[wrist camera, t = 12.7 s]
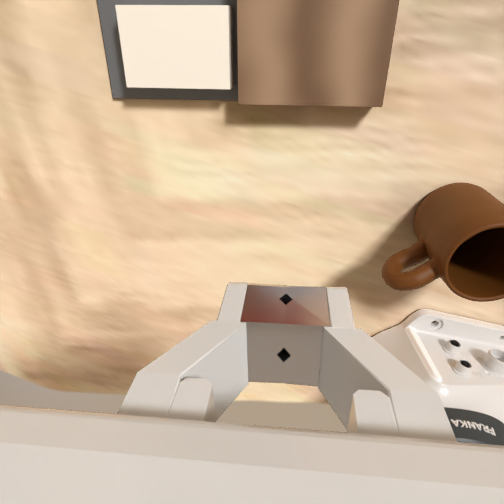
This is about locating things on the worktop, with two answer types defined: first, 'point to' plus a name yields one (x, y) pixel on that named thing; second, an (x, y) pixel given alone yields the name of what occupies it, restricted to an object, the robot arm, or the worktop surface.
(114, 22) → the mat
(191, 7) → the ivory block
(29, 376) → the worktop surface
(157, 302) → the worktop surface
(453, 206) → the mug
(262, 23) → the brown wooden flat board
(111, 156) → the worktop surface
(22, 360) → the worktop surface
